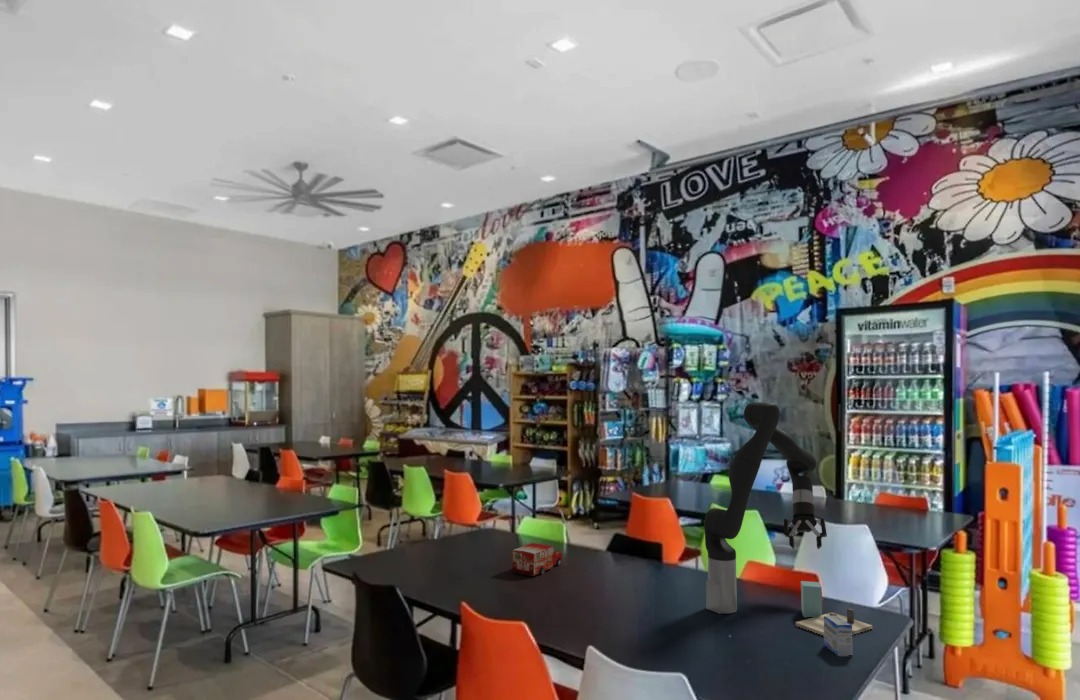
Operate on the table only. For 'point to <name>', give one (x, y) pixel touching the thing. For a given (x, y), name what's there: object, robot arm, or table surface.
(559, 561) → the ambulance
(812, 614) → the grey-green tall block
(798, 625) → the pin board
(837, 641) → the medicine box
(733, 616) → the table surface
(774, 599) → the table surface
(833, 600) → the table surface
